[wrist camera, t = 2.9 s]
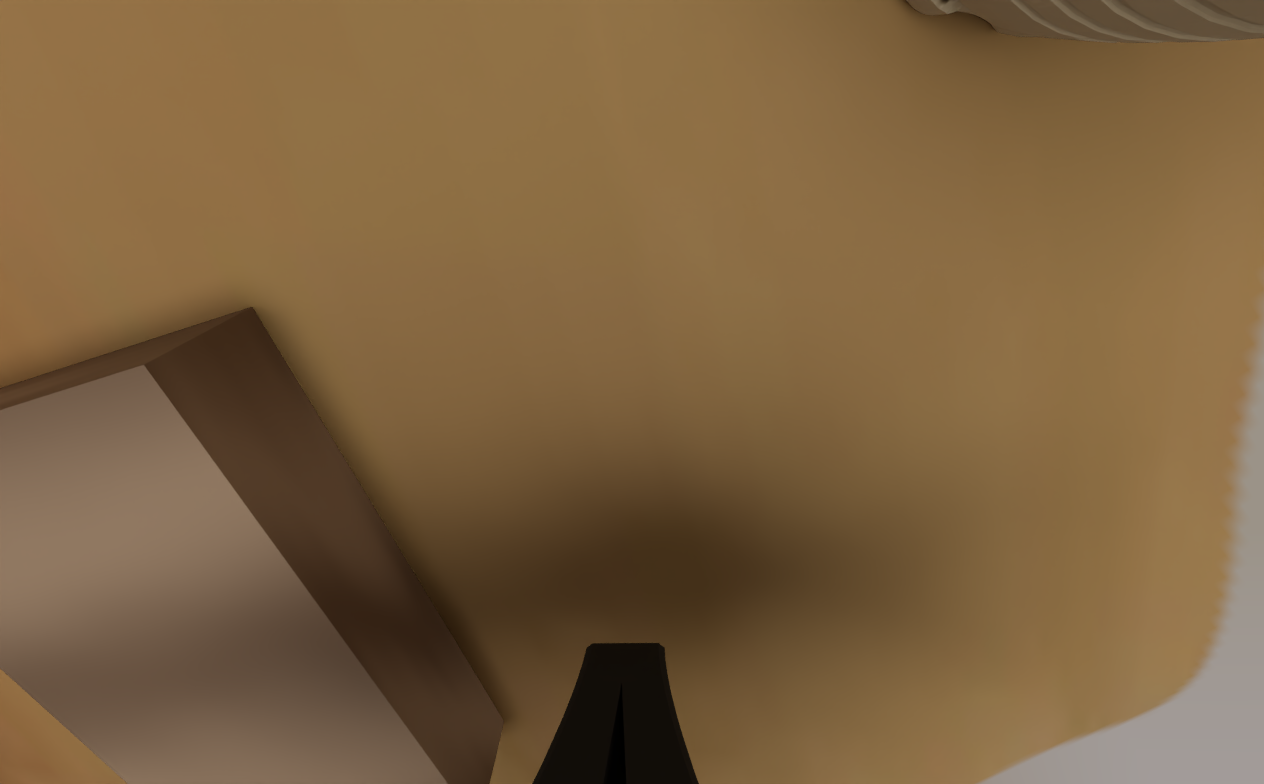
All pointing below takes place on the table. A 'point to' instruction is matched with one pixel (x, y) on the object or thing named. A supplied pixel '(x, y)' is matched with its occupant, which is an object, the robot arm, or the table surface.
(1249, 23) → the handle
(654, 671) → the robot arm
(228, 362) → the brown rectangular block
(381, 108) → the table surface
